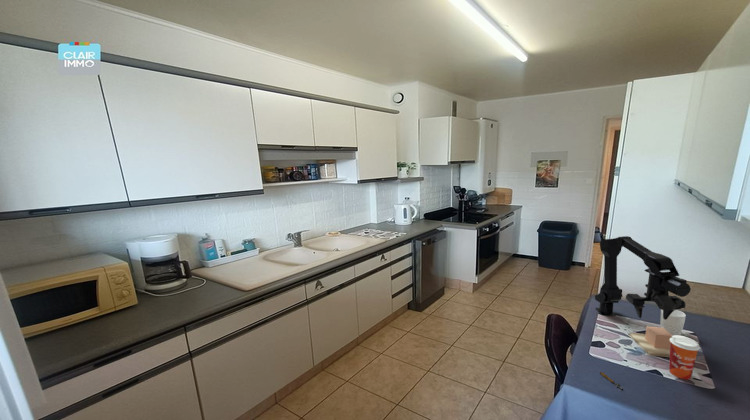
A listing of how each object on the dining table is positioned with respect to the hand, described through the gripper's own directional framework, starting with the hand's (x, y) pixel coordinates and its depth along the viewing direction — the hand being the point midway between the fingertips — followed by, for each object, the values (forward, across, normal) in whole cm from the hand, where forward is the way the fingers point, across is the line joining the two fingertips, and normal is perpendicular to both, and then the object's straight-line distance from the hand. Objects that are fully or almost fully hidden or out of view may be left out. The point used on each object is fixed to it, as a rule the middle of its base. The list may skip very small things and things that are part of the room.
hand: (652, 318), depth 128 cm
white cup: (+11, +13, +8) cm, 19 cm away
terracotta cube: (+10, +1, -4) cm, 10 cm away
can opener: (+11, -28, -29) cm, 42 cm away
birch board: (+11, +1, -4) cm, 11 cm away
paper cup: (+11, -2, -21) cm, 24 cm away
